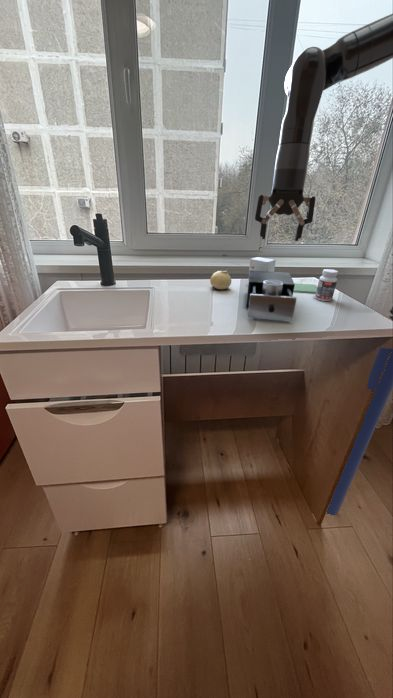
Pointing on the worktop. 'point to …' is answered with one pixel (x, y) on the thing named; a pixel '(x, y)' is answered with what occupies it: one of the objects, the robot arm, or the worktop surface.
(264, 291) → the steel tumbler
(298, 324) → the worktop surface
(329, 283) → the pill bottle
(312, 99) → the robot arm
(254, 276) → the box
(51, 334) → the worktop surface
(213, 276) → the onion
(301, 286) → the drying pad
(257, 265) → the small box
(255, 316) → the drawer
